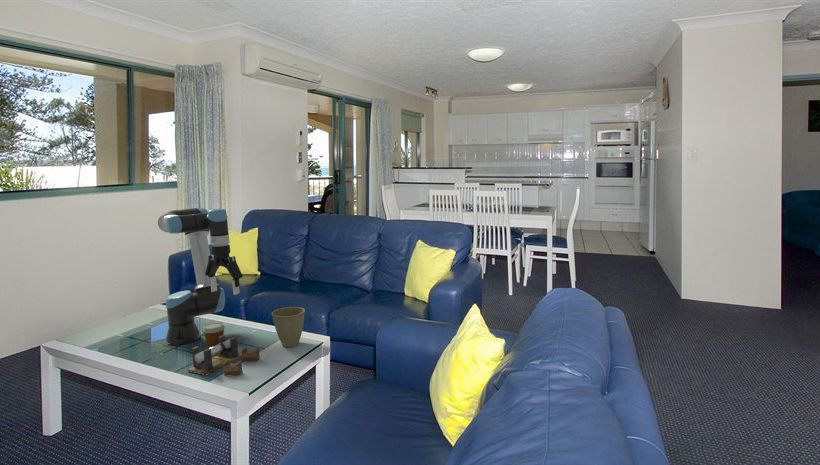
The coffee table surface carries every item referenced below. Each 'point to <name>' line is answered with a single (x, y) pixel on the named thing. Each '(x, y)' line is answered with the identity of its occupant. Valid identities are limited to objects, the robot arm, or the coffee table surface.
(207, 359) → the collar block
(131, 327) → the coffee table surface
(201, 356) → the air tube
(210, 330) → the disposable coffee cup
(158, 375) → the coffee table surface
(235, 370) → the tube stand
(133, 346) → the coffee table surface
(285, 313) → the plant pot
